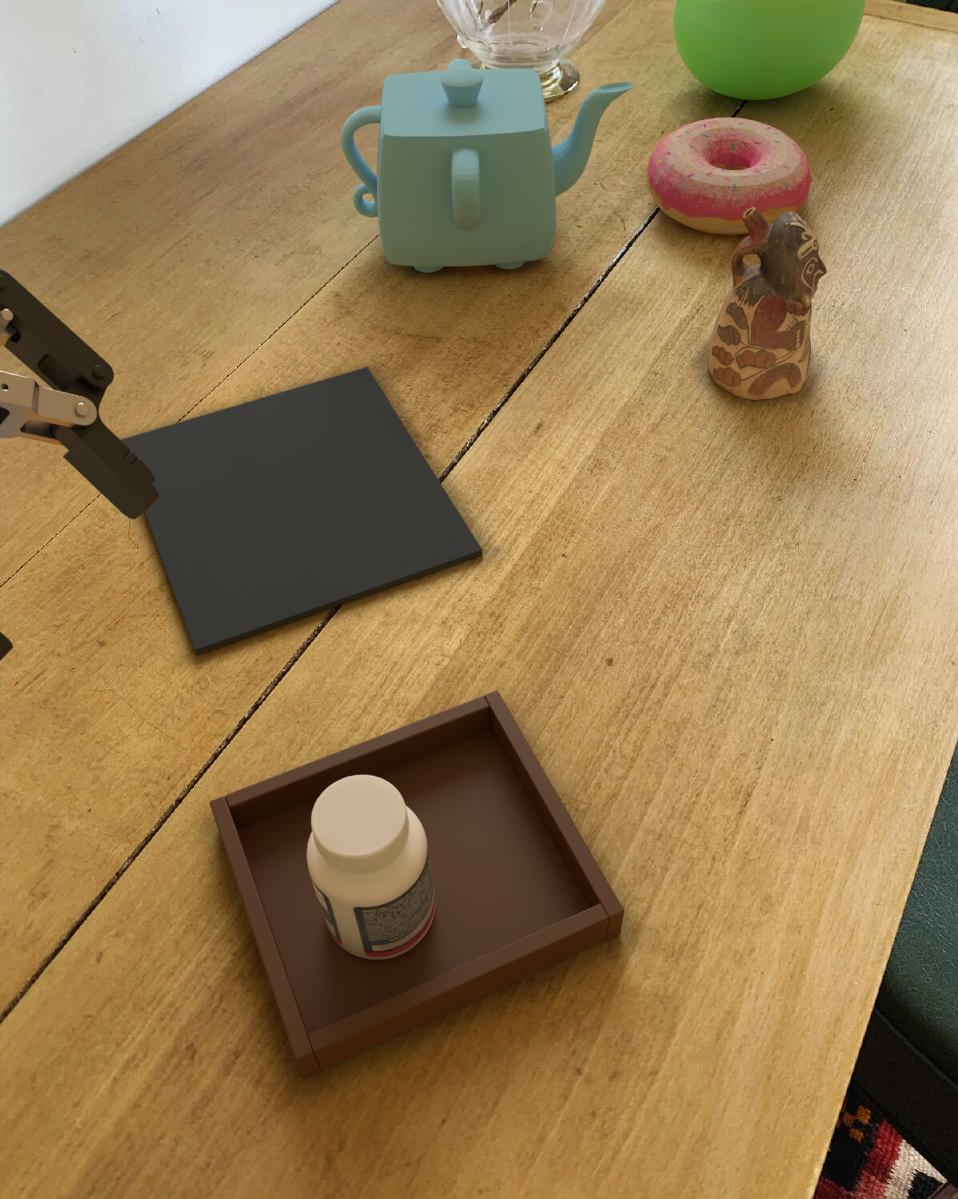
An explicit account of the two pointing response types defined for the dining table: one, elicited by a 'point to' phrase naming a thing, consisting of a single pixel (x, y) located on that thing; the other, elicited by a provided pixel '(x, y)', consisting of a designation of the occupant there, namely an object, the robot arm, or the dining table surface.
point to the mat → (294, 508)
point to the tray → (459, 871)
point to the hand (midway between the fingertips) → (78, 578)
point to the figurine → (767, 310)
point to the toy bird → (764, 43)
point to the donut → (727, 174)
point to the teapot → (469, 165)
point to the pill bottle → (370, 868)
